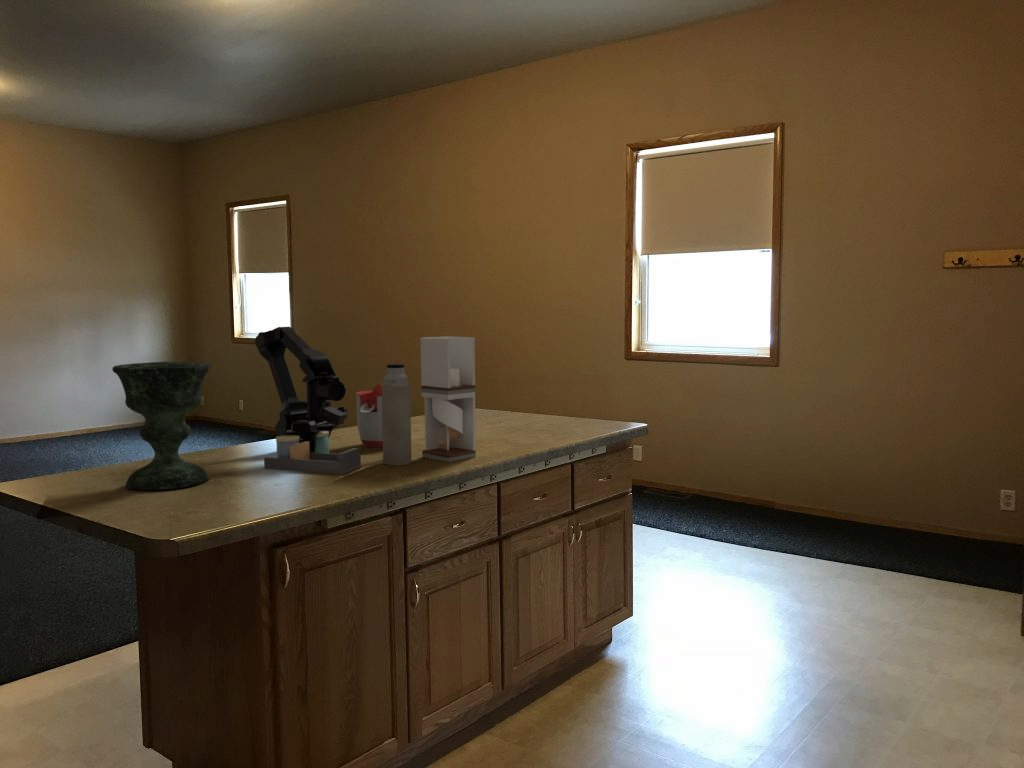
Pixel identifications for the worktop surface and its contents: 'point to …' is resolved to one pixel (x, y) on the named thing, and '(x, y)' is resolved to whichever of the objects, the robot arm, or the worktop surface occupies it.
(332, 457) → the grey open rectangular box
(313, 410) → the robot arm
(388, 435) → the thermos bottle
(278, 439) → the slate jar
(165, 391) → the goblet
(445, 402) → the spiral ramp tower
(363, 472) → the worktop surface
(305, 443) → the bar
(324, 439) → the teal jar
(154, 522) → the worktop surface
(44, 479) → the worktop surface
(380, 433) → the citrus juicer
